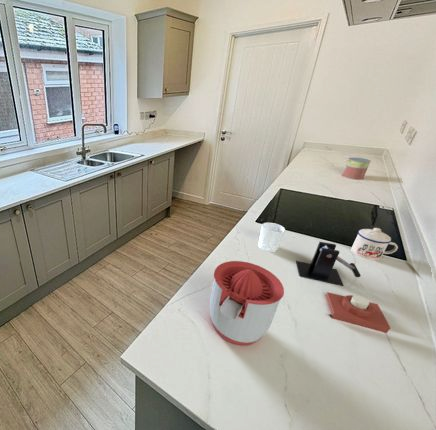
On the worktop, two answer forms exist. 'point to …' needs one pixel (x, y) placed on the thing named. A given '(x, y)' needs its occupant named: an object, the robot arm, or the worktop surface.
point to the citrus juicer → (243, 301)
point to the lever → (346, 264)
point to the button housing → (357, 313)
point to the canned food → (356, 168)
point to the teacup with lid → (372, 244)
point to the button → (359, 302)
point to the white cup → (270, 236)
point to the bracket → (321, 265)
